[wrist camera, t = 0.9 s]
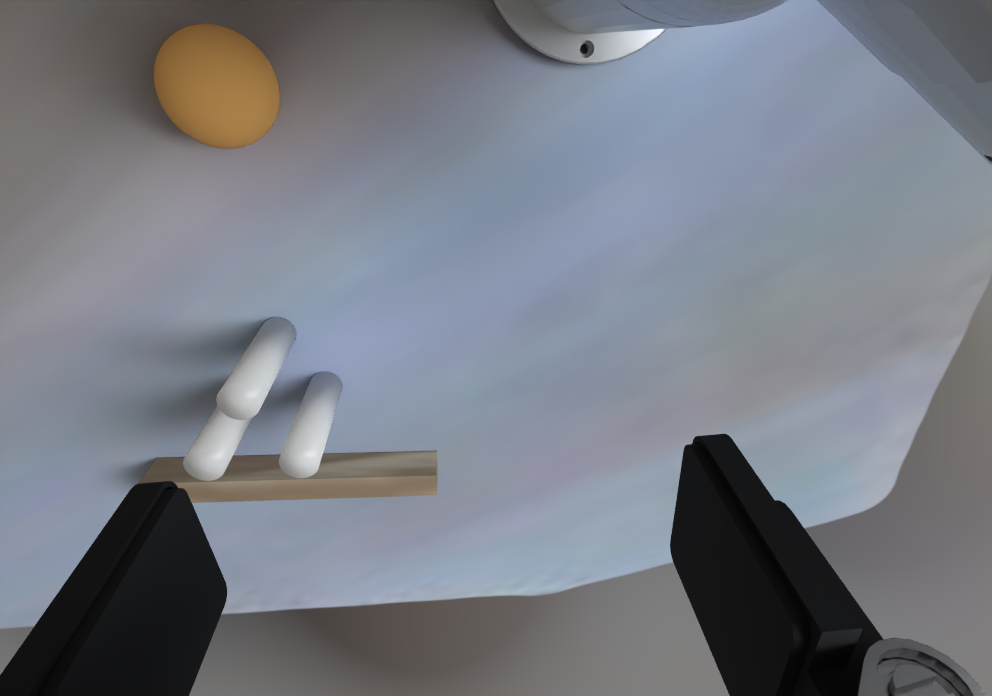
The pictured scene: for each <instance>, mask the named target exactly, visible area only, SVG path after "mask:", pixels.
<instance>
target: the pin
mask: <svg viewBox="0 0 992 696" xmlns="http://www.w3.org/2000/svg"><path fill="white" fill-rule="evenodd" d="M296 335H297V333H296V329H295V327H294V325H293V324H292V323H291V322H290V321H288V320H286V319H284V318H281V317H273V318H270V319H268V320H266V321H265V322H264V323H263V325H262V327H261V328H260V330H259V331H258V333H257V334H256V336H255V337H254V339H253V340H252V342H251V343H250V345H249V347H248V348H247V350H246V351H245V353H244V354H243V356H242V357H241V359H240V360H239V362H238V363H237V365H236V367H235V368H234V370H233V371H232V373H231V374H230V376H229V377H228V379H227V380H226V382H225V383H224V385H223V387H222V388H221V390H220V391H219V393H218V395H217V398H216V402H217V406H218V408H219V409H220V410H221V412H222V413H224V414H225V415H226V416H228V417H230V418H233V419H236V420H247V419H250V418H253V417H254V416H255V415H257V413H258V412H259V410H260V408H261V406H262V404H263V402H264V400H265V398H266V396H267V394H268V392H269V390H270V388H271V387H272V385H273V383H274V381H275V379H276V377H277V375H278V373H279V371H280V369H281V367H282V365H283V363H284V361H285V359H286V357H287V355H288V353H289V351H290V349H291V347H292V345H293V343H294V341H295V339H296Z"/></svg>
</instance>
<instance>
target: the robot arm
mask: <svg viewBox="0 0 992 696" xmlns="http://www.w3.org/2000/svg"><path fill="white" fill-rule="evenodd" d="M493 1H494V3H495V5H496V7H497V9H498V11H499V13H500V14H501V16H502V17H503V18H504V20H505V21H506V22H507V24H508V25H509V26H510V28H511V29H512V30H513V32H515V33H516V34H517V35H518V36H519V37H520V38H521V39H522V40H523V41H525V42H526V43H527V44H528V45H529V46H530V47H532V48H534V49H536V50H537V51H539V52H541V53H543V54H544V55H546V56H548V57H551V58H554V59H557V60H560V61H563V62H567V63H575V64H602V63H607V62H611V61H615V60H619V59H622V58H624V57H626V56H629V55H631V54H633V53H635V52H637V51H639V50H641V49H643V48H644V47H645V46H647V45H648V44H650V43H651V42H652V41H654V40H655V39H657V38H658V37H659V36H660V35H661V34H662V33H663V32H664V31H665V30H666V29H667V28H681V27H692V26H704V25H716V24H723V23H728V22H734V21H739V20H743V19H746V18H750V17H753V16H756V15H759V14H761V13H764V12H766V11H768V10H771V9H773V8H775V7H777V6H779V5H781V4H782V3H784V2H786V1H788V0H493ZM817 1H818V2H819V3H820V4H821V5H822V6H823V7H824V8H825V9H827V10H828V11H829V12H830V13H831V14H832V15H833V16H834V17H835V18H836V19H837V20H838V21H839V22H840V23H841V24H842V25H843V26H844V27H845V28H846V29H847V30H848V31H849V32H850V33H851V34H852V35H853V36H854V37H855V38H856V39H857V40H858V41H859V42H860V43H861V44H862V45H863V46H865V47H866V48H867V49H868V50H869V51H870V52H871V53H872V54H873V55H874V56H875V57H876V58H877V59H878V60H879V61H880V62H881V63H882V64H883V65H884V66H885V67H887V68H888V69H889V70H890V71H892V72H893V73H895V74H897V75H899V76H901V77H902V78H903V79H904V80H905V81H906V82H907V83H908V84H909V85H910V86H911V87H912V88H913V89H914V90H915V91H916V92H917V93H918V94H919V95H921V96H922V97H923V98H924V99H925V100H926V101H927V102H928V103H929V104H930V105H931V106H932V107H933V108H934V109H935V110H936V111H937V112H938V113H939V114H940V115H941V116H942V117H943V118H944V119H945V120H946V121H947V122H948V123H949V124H950V125H951V126H952V127H953V128H954V129H955V130H956V131H957V132H958V133H959V134H960V135H961V136H962V137H963V138H964V139H965V140H966V141H967V142H968V143H969V144H970V145H971V146H972V147H973V148H974V149H975V150H976V151H977V152H978V153H979V154H980V155H981V156H982V157H983V158H984V159H985V160H986V161H987V162H988V163H989V164H990V165H991V166H992V0H817ZM582 44H586V46H587V52H586V53H585V54H582V53H581V52H580V47H581V45H582ZM670 549H671V555H672V559H673V562H674V565H675V567H676V569H677V572H678V574H679V577H680V579H681V581H682V584H683V586H684V588H685V591H686V593H687V596H688V598H689V600H690V602H691V605H692V607H693V610H694V612H695V614H696V617H697V619H698V622H699V624H700V626H701V629H702V631H703V633H704V636H705V638H706V640H707V643H708V645H709V648H710V650H711V652H712V655H713V657H714V659H715V662H716V664H717V667H718V669H719V671H720V673H721V676H722V678H723V681H724V683H725V685H726V688H727V690H728V693H729V695H730V696H986V695H985V693H984V692H983V690H982V688H981V687H980V686H979V684H978V683H977V682H976V681H975V680H974V679H973V678H972V676H971V675H970V674H969V673H968V672H967V671H966V670H965V669H964V668H962V667H961V666H960V665H959V664H957V663H956V662H955V661H954V660H952V659H951V658H950V657H948V656H947V655H945V654H943V653H941V652H939V651H938V650H936V649H934V648H932V647H930V646H928V645H925V644H922V643H919V642H916V641H913V640H909V639H900V638H889V639H884V640H883V638H882V637H881V635H880V634H879V633H878V631H877V630H876V629H875V627H874V626H873V624H872V623H871V621H870V620H869V619H868V617H867V616H866V614H865V613H864V612H863V610H862V609H861V608H860V606H859V605H858V603H857V602H856V601H855V599H854V598H853V596H852V595H851V593H850V592H849V591H848V590H847V588H846V586H845V585H844V584H843V582H842V581H841V580H840V578H839V577H838V575H837V574H836V572H835V571H834V570H833V568H832V567H831V565H830V564H829V563H828V561H827V560H826V558H825V557H824V556H823V554H822V553H821V552H820V550H819V549H818V548H817V546H816V545H815V543H814V542H813V540H812V539H811V538H810V536H809V535H808V533H807V532H806V531H805V529H804V528H803V526H802V525H801V523H800V522H799V521H798V519H797V518H796V516H795V515H794V514H793V512H792V511H791V510H790V509H789V508H788V506H787V505H786V504H785V503H783V502H781V501H775V500H774V499H773V498H772V496H771V495H770V493H769V492H768V490H767V489H766V487H765V486H764V485H763V483H762V482H761V480H760V479H759V477H758V476H757V475H756V473H755V472H754V470H753V469H752V467H751V466H750V464H749V463H748V462H747V460H746V459H745V457H744V456H743V454H742V453H741V451H740V450H739V449H738V447H737V446H736V444H735V443H734V441H733V440H732V439H731V437H730V436H729V435H727V434H717V435H705V436H697V437H695V438H694V440H693V443H692V444H690V445H686V446H685V448H684V452H683V459H682V466H681V473H680V480H679V487H678V493H677V500H676V507H675V514H674V521H673V528H672V535H671V541H670ZM226 598H227V586H226V582H225V580H224V578H223V575H222V573H221V571H220V568H219V566H218V563H217V561H216V559H215V556H214V554H213V552H212V549H211V547H210V545H209V542H208V540H207V538H206V535H205V533H204V531H203V528H202V526H201V524H200V521H199V519H198V517H197V514H196V512H195V510H194V507H193V505H192V503H191V500H190V498H189V496H188V493H187V492H186V490H185V489H183V488H178V487H177V485H176V484H175V483H174V482H173V481H162V482H151V483H139V484H137V485H135V486H134V487H133V488H132V489H131V490H130V491H129V493H128V494H127V495H126V497H125V498H124V500H123V501H122V503H121V504H120V505H119V507H118V508H117V510H116V511H115V513H114V514H113V515H112V517H111V518H110V520H109V521H108V523H107V524H106V525H105V527H104V528H103V530H102V531H101V533H100V534H99V535H98V537H97V538H96V540H95V541H94V542H93V544H92V545H91V547H90V548H89V550H88V551H87V552H86V554H85V555H84V557H83V558H82V560H81V561H80V562H79V564H78V565H77V567H76V568H75V570H74V571H73V572H72V574H71V575H70V577H69V578H68V580H67V581H66V582H65V584H64V585H63V587H62V588H61V590H60V591H59V592H58V594H57V595H56V597H55V598H54V599H53V601H52V602H51V604H50V605H49V607H48V608H47V609H46V611H45V612H44V614H43V615H42V617H41V618H40V619H39V621H38V622H37V624H36V625H35V627H34V628H33V629H32V631H31V632H30V634H29V635H28V637H27V638H26V639H25V641H24V642H23V644H22V645H21V647H20V648H19V650H18V651H17V652H16V654H15V655H14V657H13V658H12V659H11V661H10V662H9V664H8V665H7V666H6V668H5V669H4V671H3V672H2V674H1V675H0V696H189V694H190V692H191V689H192V686H193V684H194V682H195V679H196V676H197V674H198V671H199V669H200V666H201V664H202V661H203V659H204V656H205V654H206V651H207V649H208V646H209V644H210V641H211V638H212V636H213V633H214V631H215V628H216V626H217V623H218V621H219V618H220V615H221V613H222V611H223V608H224V606H225V602H226Z"/></svg>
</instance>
